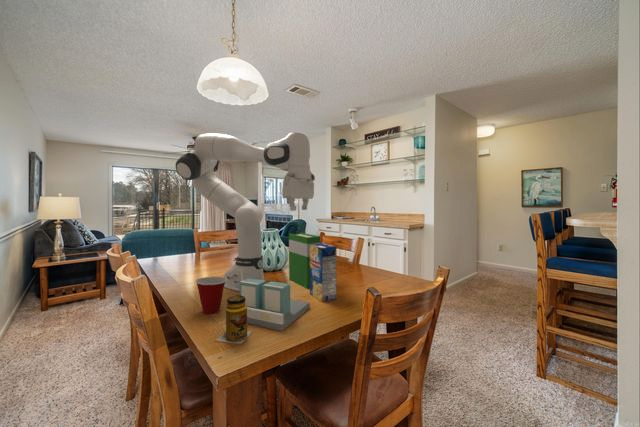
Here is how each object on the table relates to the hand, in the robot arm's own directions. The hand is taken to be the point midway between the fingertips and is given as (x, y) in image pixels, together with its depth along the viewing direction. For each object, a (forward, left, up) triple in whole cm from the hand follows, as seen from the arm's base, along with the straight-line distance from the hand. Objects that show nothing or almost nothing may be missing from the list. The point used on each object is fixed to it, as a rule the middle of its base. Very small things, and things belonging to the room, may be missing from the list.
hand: (299, 210), depth 106 cm
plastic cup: (-26, -20, -37) cm, 50 cm away
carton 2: (0, -16, -35) cm, 39 cm away
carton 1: (-10, -16, -35) cm, 40 cm away
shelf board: (-4, -13, -37) cm, 39 cm away
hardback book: (-10, +24, -37) cm, 46 cm away
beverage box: (+6, +10, -37) cm, 39 cm away
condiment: (-5, -32, -37) cm, 49 cm away
